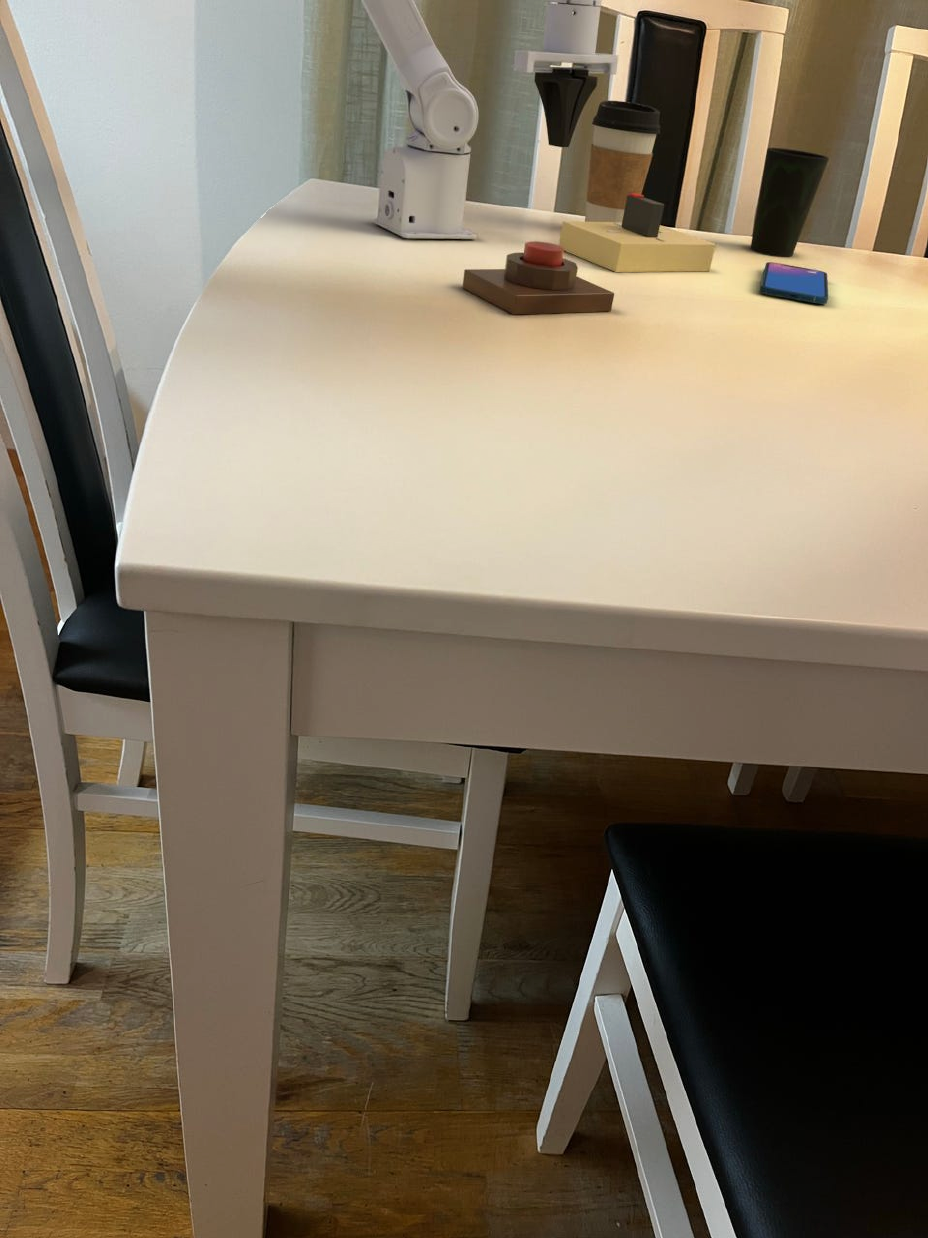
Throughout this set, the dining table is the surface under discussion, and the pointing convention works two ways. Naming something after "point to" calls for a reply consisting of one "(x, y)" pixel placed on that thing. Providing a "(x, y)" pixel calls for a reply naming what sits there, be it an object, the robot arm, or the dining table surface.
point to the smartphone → (795, 283)
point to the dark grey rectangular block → (642, 215)
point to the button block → (537, 288)
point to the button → (543, 254)
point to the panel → (635, 248)
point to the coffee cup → (619, 157)
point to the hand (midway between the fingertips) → (558, 145)
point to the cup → (785, 199)
